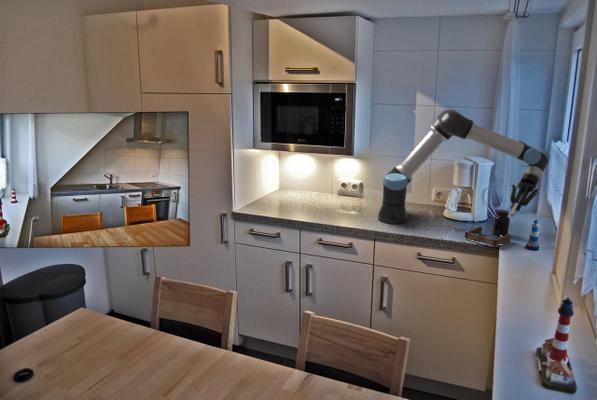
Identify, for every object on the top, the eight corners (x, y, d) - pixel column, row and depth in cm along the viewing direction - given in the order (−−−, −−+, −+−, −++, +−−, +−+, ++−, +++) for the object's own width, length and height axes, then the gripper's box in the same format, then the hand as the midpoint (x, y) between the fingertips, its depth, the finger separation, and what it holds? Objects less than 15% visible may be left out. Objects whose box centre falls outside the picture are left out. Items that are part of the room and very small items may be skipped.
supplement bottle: (498, 231, 228) (502, 208, 225) (510, 236, 223) (514, 211, 219) (489, 233, 225) (492, 209, 222) (501, 238, 219) (504, 213, 216)
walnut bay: (464, 239, 217) (465, 232, 216) (479, 233, 226) (480, 226, 225) (495, 248, 206) (496, 240, 205) (510, 241, 215) (511, 234, 214)
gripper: (546, 183, 231) (527, 222, 225) (519, 179, 241) (500, 216, 234) (543, 174, 227) (523, 214, 220) (516, 170, 236) (496, 208, 230)
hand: (511, 215), depth 227 cm, fingers closed
